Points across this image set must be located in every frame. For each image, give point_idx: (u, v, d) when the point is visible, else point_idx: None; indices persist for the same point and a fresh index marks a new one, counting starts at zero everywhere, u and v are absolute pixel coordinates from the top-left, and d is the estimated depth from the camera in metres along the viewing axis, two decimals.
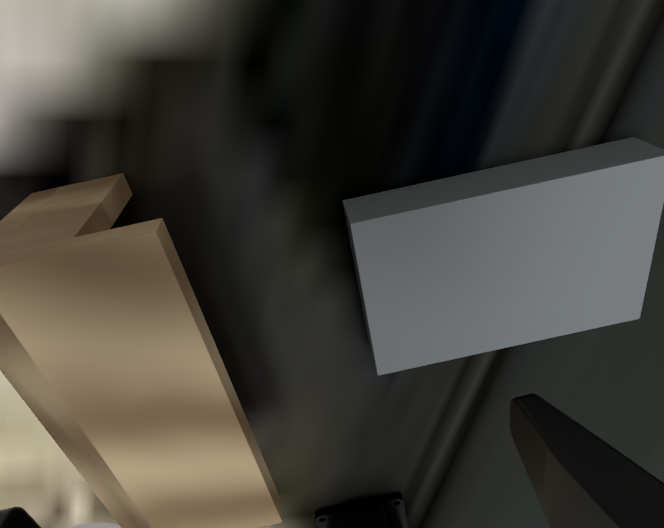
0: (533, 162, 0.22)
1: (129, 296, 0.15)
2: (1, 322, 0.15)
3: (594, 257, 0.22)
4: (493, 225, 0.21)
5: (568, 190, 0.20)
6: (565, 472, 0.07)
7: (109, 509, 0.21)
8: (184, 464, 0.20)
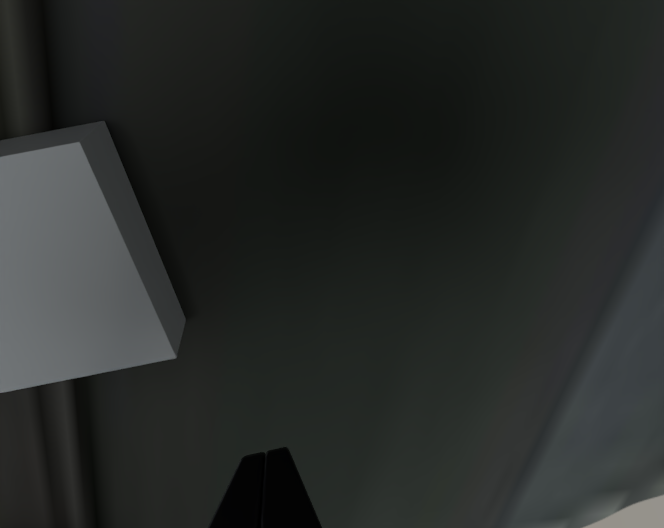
0: None
1: None
2: None
3: (52, 280, 0.17)
4: None
5: None
6: None
7: None
8: None
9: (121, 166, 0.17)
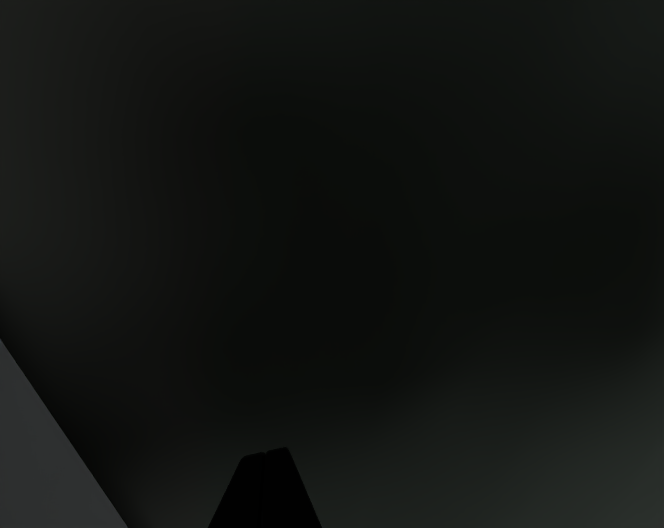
0: None
1: None
2: None
3: None
4: None
5: None
6: None
7: None
8: None
9: None
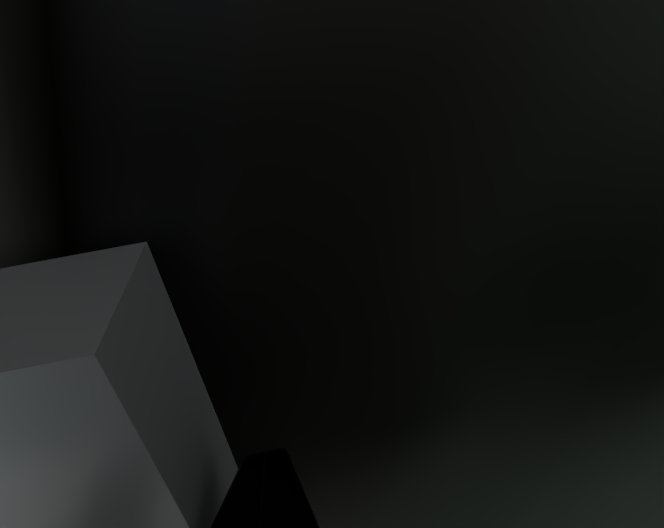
0: None
1: None
2: None
3: None
4: None
5: None
6: None
7: None
8: None
9: (177, 331, 0.08)
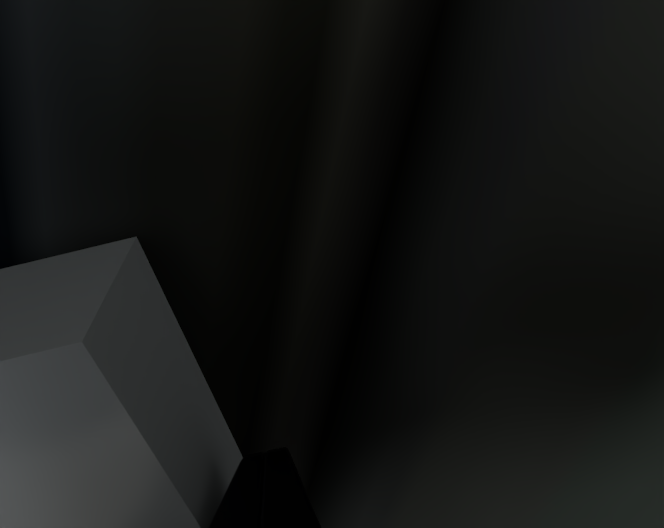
0: None
1: None
2: None
3: None
4: None
5: None
6: None
7: None
8: None
9: (174, 322, 0.08)
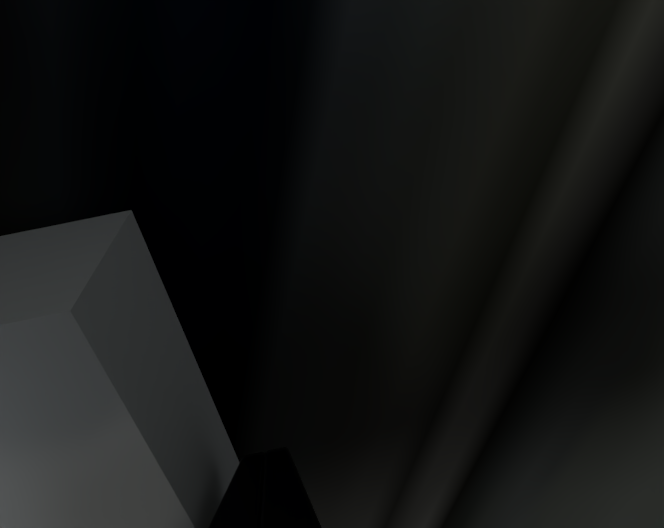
0: None
1: None
2: None
3: None
4: None
5: None
6: None
7: None
8: None
9: (166, 302, 0.08)
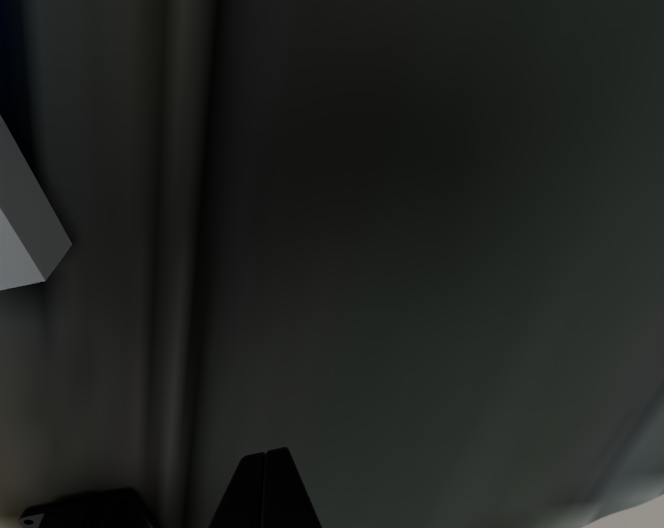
0: None
1: None
2: None
3: None
4: None
5: None
6: None
7: None
8: None
9: None
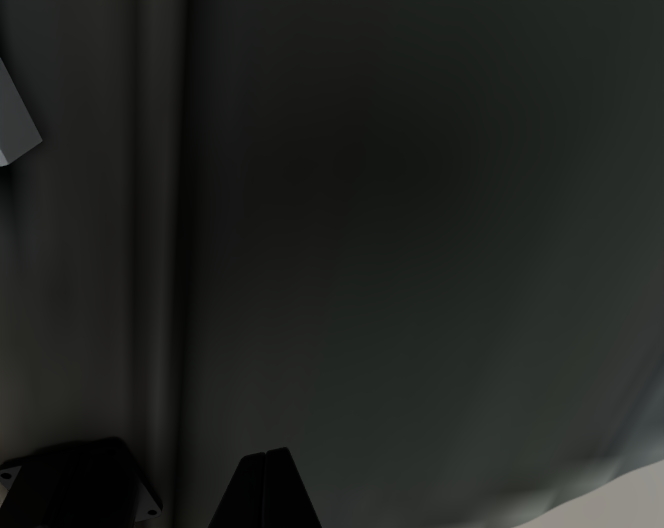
0: None
1: None
2: None
3: None
4: None
5: None
6: None
7: None
8: None
9: None
